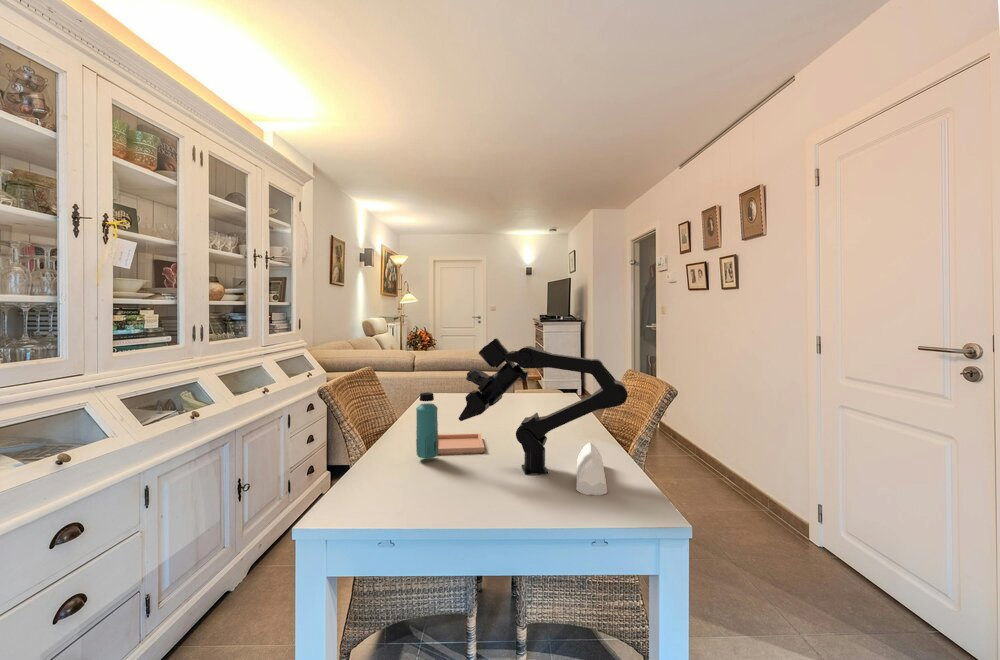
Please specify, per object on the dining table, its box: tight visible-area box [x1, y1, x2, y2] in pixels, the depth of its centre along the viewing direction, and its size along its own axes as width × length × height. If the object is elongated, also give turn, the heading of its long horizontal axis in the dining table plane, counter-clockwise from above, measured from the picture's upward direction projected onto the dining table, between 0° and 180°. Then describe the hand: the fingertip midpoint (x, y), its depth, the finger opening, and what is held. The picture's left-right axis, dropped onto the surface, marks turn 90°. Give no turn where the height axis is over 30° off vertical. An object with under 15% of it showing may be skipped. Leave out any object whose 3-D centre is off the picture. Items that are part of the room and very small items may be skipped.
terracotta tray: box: [438, 432, 485, 455], centre depth 144 cm, size 16×16×2 cm
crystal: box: [575, 441, 608, 496], centre depth 117 cm, size 7×7×24 cm
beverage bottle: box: [415, 391, 439, 459], centre depth 130 cm, size 6×7×20 cm
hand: (465, 416), depth 127 cm, fingers open, 9 cm apart
